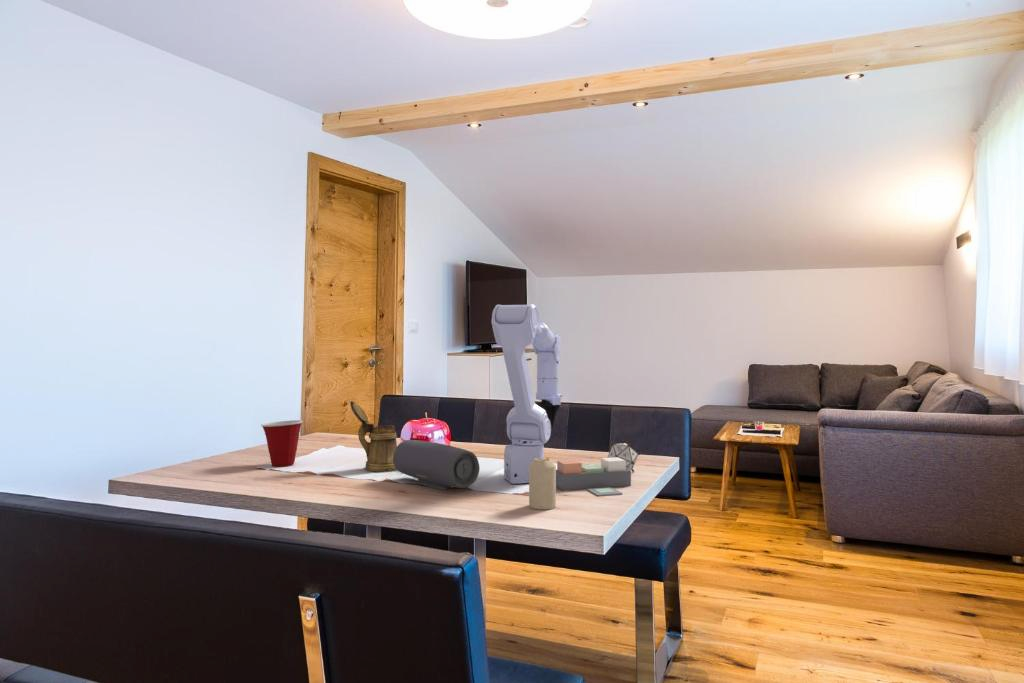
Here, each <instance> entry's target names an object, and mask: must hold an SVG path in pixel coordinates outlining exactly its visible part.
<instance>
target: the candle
mask: <svg viewBox="0 0 1024 683" xmlns="http://www.w3.org/2000/svg"><path fill="white" fill-rule="evenodd" d="M556 470H557V465H556V464H555V463H554V462H553V460H552V459H551V458H550V457H548V458H544V459H536V458H535V459H534V460H533V462H532V463H531V464H530V465H529V483H528V503H529V504H528V505H529V508H530V509H534V510H538V511H539V510H553V509H554V508H556V505H557V504H556V502H557V501H556V500H557V499H556V498H557V496H556V495H557V492H556V490H557V487H556Z"/></svg>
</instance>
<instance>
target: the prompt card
mask: <svg viewBox="0 0 1024 683" xmlns="http://www.w3.org/2000/svg"><path fill="white" fill-rule="evenodd" d="M586 491H588V492H589V493H591V494H593V495H594V496H597V497H604V496H619V495H623V492H621V491H620V490H618V489H616V488H614V487H603V488H588V489H586Z"/></svg>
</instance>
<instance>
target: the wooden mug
mask: <svg viewBox="0 0 1024 683" xmlns="http://www.w3.org/2000/svg"><path fill="white" fill-rule="evenodd" d="M349 403H350V409H351V411H352V413H353V414H354V416H355V417H356V419H357V420H358V421H359V422H360V423H361V424H360V426H359V428H358V432H357V433H358V434H357V436H358V441H359V442H360V444H361V446H362V449H363V450H364V451H365V453H366V460H367V461H365V469H366V470H367V471H369V472H375V473H376V472H377V473H380V472H381V473H384V472H394V471H398V470H397V469H396V468H395V466H394V463H393V456H394V452H395V450H396V448H397V446H398V444H397V438H398V435H397V431H396V428H395V425H378V426H375V425H374V423H370V422H369V419H368V416H367V414H366V412H365V410H363V408H362V407H361V406H360V405H359V404H357V403H356V402H354V401H353V400H351V401H350V402H349ZM368 433H369V434H368ZM367 434H368V438H369V439H370V441H367V439H366V435H367Z"/></svg>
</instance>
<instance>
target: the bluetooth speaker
mask: <svg viewBox="0 0 1024 683" xmlns="http://www.w3.org/2000/svg"><path fill="white" fill-rule="evenodd" d="M393 463H394V466H395V468H396V469H397V470H396V471H397V472H400V473H401V474H403V475H406V476H409V477H412V478H414V479H417V480H418V483H419V484H421V485H423V486H427V487H432V488H434V489H439V490H449V489H452V488H459V489H460V488H462V489H465V488H468V487H471V486H472V485H473V484H474V483H475V482H476V481H477V479H478V477H479V475H480V474H479V473H480V463H479V460H478V457H477V456H476V454H475V453H474V452H472V451H470V450H468V449H464V448H460V447H456V446H452V445H447V444H444V443H439V442H432V441H426V440H418V439H417V440H416V439H406V440H403V441H401V442H400V443H398V444H397V448H396V450H395V452H394V456H393Z"/></svg>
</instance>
